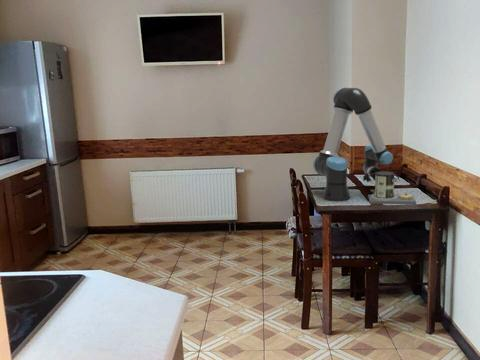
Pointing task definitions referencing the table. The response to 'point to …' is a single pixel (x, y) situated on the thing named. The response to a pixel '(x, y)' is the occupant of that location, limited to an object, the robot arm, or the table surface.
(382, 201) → the gear board
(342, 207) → the table surface
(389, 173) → the coffee can
